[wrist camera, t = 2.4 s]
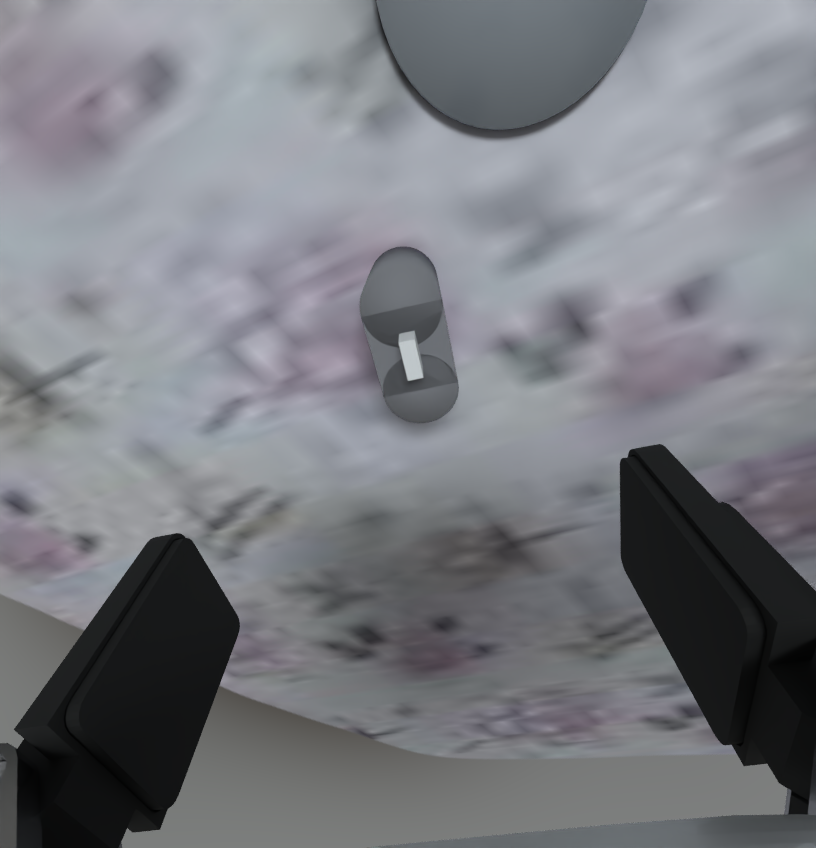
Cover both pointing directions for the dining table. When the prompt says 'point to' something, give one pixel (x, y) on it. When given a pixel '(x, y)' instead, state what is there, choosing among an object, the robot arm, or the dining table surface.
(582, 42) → the grey flat disc
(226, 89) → the dining table surface
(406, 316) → the plug
